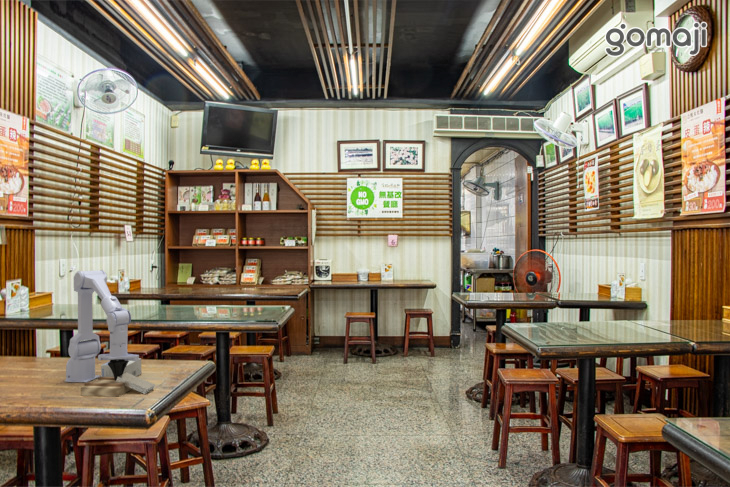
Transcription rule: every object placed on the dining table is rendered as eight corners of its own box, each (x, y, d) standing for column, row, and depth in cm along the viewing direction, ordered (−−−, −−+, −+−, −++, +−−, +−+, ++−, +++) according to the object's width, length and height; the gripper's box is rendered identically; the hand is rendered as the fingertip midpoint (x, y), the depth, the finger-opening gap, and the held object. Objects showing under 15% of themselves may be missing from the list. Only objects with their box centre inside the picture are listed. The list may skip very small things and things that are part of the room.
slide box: (80, 395, 155) (80, 385, 155) (103, 385, 167) (103, 375, 167) (118, 396, 154) (118, 386, 154) (138, 386, 166) (138, 376, 166)
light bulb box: (142, 373, 181) (116, 373, 182) (141, 357, 181) (116, 357, 182) (127, 381, 171) (100, 381, 171) (127, 364, 171) (100, 364, 171)
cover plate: (115, 381, 157) (117, 376, 157) (124, 377, 163) (126, 372, 163) (145, 394, 157) (147, 389, 157) (153, 389, 162) (155, 384, 162)
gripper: (92, 345, 157) (92, 382, 157) (130, 345, 156) (130, 383, 156) (105, 341, 164) (105, 377, 164) (142, 341, 163) (142, 377, 163)
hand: (118, 379), depth 160 cm, fingers closed
